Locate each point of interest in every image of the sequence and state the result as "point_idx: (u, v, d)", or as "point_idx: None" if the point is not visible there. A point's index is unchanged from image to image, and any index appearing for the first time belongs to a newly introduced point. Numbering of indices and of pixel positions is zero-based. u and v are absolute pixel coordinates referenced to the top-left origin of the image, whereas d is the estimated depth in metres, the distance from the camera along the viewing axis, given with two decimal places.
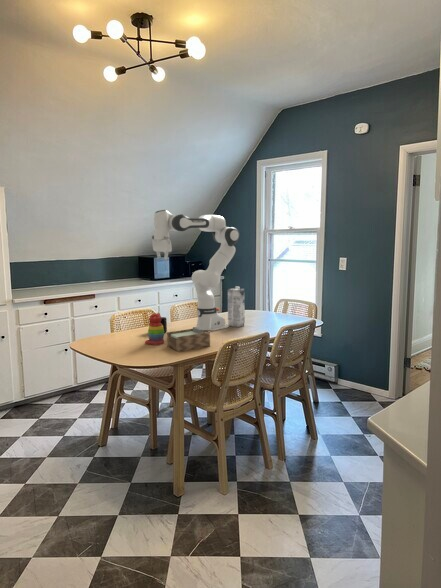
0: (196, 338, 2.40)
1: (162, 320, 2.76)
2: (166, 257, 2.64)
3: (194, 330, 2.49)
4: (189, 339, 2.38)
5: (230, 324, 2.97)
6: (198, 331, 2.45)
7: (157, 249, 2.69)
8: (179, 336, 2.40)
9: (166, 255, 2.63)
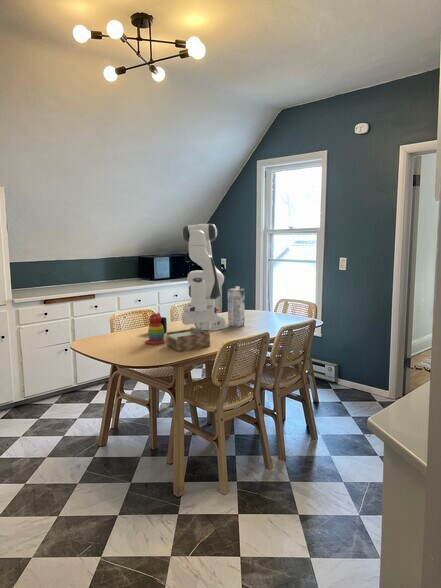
0: (196, 338, 2.40)
1: (162, 320, 2.76)
2: None
3: (192, 330, 2.48)
4: (189, 339, 2.38)
5: (230, 324, 2.97)
6: (196, 331, 2.44)
7: (195, 321, 2.45)
8: (177, 336, 2.39)
9: None
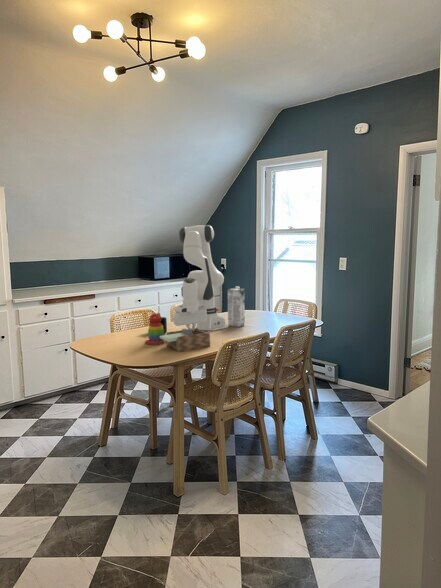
0: (196, 338, 2.40)
1: (162, 320, 2.76)
2: None
3: (184, 331, 2.46)
4: (189, 339, 2.38)
5: (230, 324, 2.97)
6: (188, 333, 2.42)
7: (187, 322, 2.42)
8: (168, 338, 2.36)
9: None
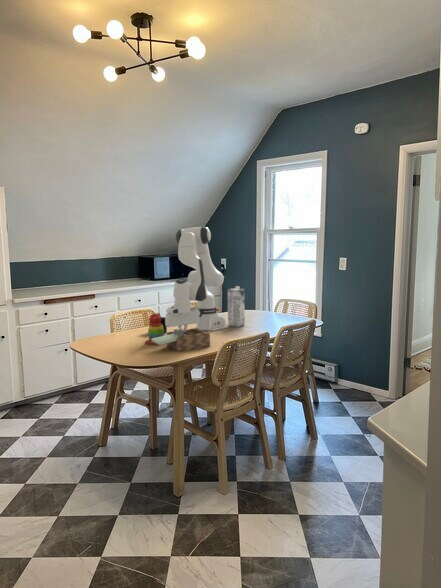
0: (196, 338, 2.40)
1: (162, 320, 2.76)
2: None
3: (175, 332, 2.43)
4: (189, 339, 2.38)
5: (230, 324, 2.97)
6: (179, 333, 2.39)
7: (179, 323, 2.39)
8: (159, 340, 2.34)
9: None
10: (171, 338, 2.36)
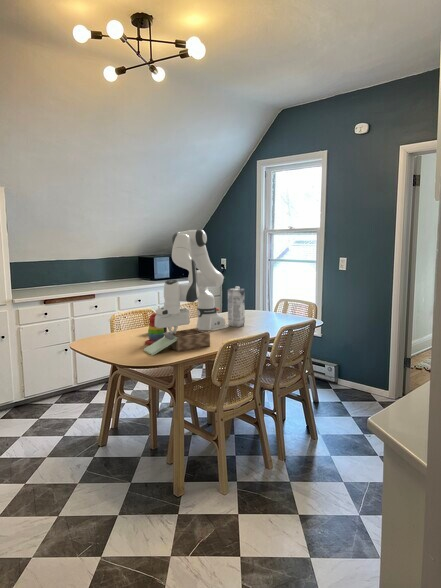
0: (196, 338, 2.40)
1: None
2: None
3: (166, 336, 2.40)
4: (189, 339, 2.38)
5: (230, 324, 2.97)
6: (169, 337, 2.36)
7: (169, 324, 2.36)
8: (151, 350, 2.32)
9: None
10: (162, 344, 2.34)
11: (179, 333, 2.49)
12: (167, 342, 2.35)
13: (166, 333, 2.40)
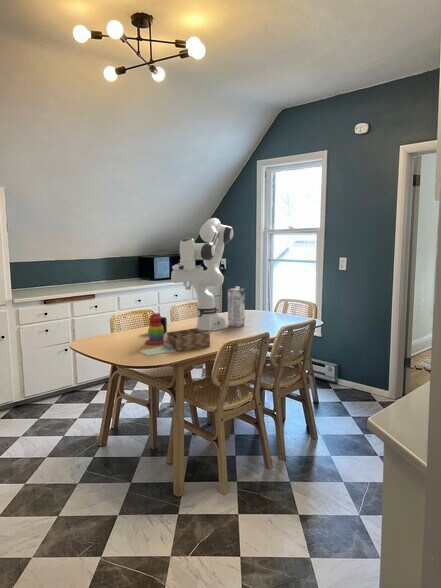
0: (196, 338, 2.40)
1: (162, 320, 2.76)
2: None
3: (164, 346, 2.41)
4: (189, 339, 2.38)
5: (230, 324, 2.97)
6: (168, 347, 2.37)
7: (184, 280, 2.49)
8: (148, 353, 2.32)
9: None
10: (160, 351, 2.34)
11: (179, 333, 2.49)
12: (165, 351, 2.35)
13: (166, 343, 2.41)
